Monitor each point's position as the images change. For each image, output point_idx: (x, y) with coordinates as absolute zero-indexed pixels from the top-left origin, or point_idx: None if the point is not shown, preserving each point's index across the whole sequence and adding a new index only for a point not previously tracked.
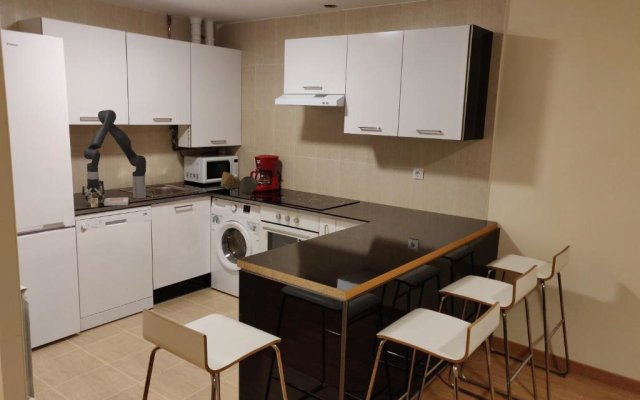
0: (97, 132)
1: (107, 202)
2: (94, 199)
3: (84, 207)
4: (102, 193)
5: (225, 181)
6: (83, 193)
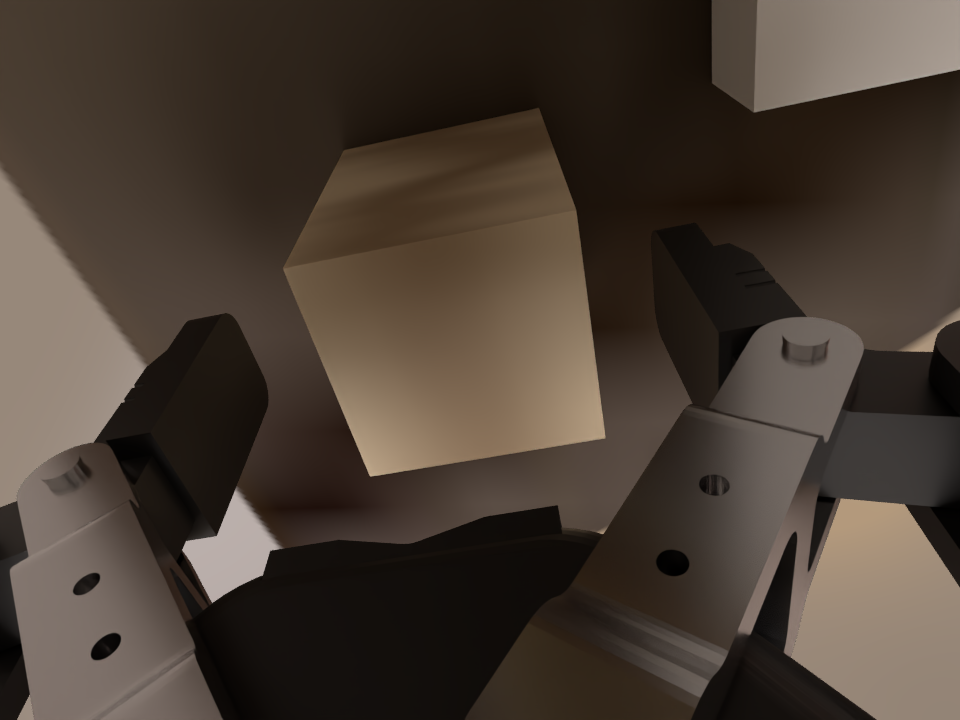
0: None
1: (876, 83)
2: (499, 438)
3: (250, 339)
4: (905, 488)
5: None
6: (16, 663)
